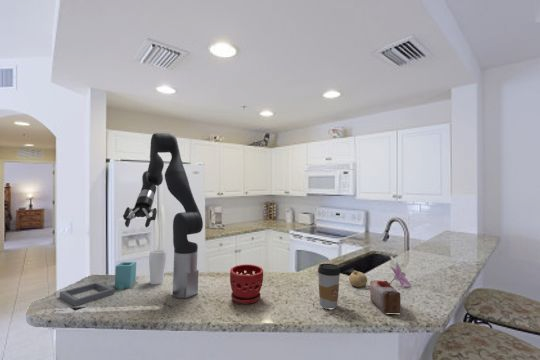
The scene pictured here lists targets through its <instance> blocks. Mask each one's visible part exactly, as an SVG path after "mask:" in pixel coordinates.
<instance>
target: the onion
mask: <svg viewBox="0 0 540 360" xmlns="http://www.w3.org/2000/svg"><path fill="white" fill-rule="evenodd" d="M348 282H349V283H350V285H352V286H353V287H356V288H365V287H366V285H367V283H368V278H367V275H365V273H363V272H361V271H357V270H353V271H352V272H351V274H350V275H349V276H348Z"/></svg>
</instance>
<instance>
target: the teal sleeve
mask: <svg viewBox="0 0 540 360" xmlns="http://www.w3.org/2000/svg"><path fill="white" fill-rule="evenodd" d="M114 270H115V271H114V272H115V273H114V275H115V276H114V286H115V288H118V289H117V290H118V291H119V290H125V289H124V288H131V287H132V286H133V285H134V284H135V282H137V281H136V278H137V261H121V262H119V263H118V264H116V265H115V269H114Z"/></svg>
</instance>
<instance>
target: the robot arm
mask: <svg viewBox="0 0 540 360" xmlns="http://www.w3.org/2000/svg"><path fill="white" fill-rule="evenodd" d="M149 149H150V151H149V164H148V168H147V170H146V171H144V172H143V174H142V177H141V178H142V179H141V181H142V184H141V185H142V187H141V190H140V192H139V194H138V195H137V199H136V201H135V204H134V207H133V208H130V207H126V209H125V211H124V213H123V215H122V217H123V219H124V221H125V222H124V225H125V227H126V228H129V226H130V224H131V221H132V220H134V219H136V218H146V221H145V224H144V226H145V228H148V227H149V226H150V224H151V222H152V221H156V219H157V213H158V211H157V210H158V209H157V207H154V208H152V206H153V203H154V201H155V200H154V199H155V196H156V195H155V194H156V192H157V187H158V186H161V185H162V183H163V180H165V185H166V187H167V189H168V191H169V193H170V194H171V195H172V196H173V197H174V198H175V199H176V200H177V201H178V202H179V203H180V204H181V206H182V207H183V209H184V211H183V212H178V213H176V214H175V215H174V217H173V221H172V238H173V239H172V244H173V245H172V246H173V249H174V250H173V271H172V272H173V275H172V296H173V297H174V298H179V299H188V298H191V297H192V296H195V295H197V294H199V270H198V250H199V249H198V243H196V242H194V241H193V242H192V241H189V239H188V235H195V234H199V233H201V232H202V230H203V227H204V221H203V217H202V214H201V212H200V209H199V207H198V205H197V202H196V201H195V198H194V196H193V192H192V189H191V187H190V181H189V178H188V175H187V172H186V169H185V166H184V164H183V161H182V157H181V152H180V148H179V144H178V140H177V137H176V135H175V134H174V133H171V132H155V133H153V134H152V135H151V138H150V148H149ZM159 153H161V154H162V153H163V154H164V153H165V154H166V153H170V155H171V156H170V157H171V159H170V161H169V164H168V166H166V167H167V168H166V169H165V173H164V175H163V170H164V165H165V163H164V160H163V158H162V157H161V156H160V154H159ZM150 213H152V215H151V216H150Z"/></svg>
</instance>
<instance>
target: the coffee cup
mask: <svg viewBox="0 0 540 360" xmlns="http://www.w3.org/2000/svg"><path fill="white" fill-rule="evenodd" d="M317 273H318V295H319V296H318V297H319V305H320V307H321V306H322V307H325V308H336V309H337V307H338V301H339V300H338V298H339V288H340V274H341V269H340V267H339V265H337V264H334V263H321V264H319V266H318V268H317ZM322 307H321V308H322Z"/></svg>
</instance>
